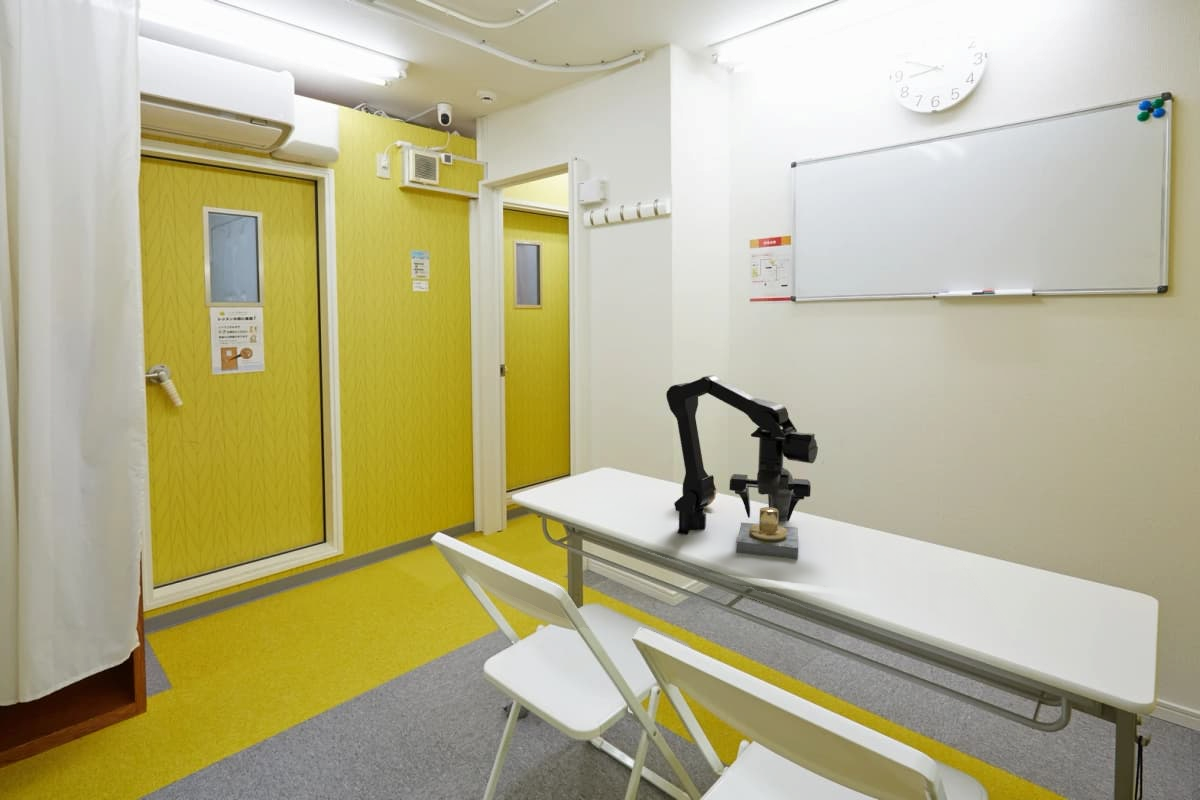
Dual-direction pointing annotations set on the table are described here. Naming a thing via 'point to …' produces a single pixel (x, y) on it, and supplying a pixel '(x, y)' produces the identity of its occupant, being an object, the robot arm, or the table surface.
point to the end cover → (768, 526)
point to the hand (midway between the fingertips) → (768, 519)
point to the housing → (768, 544)
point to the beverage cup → (781, 500)
